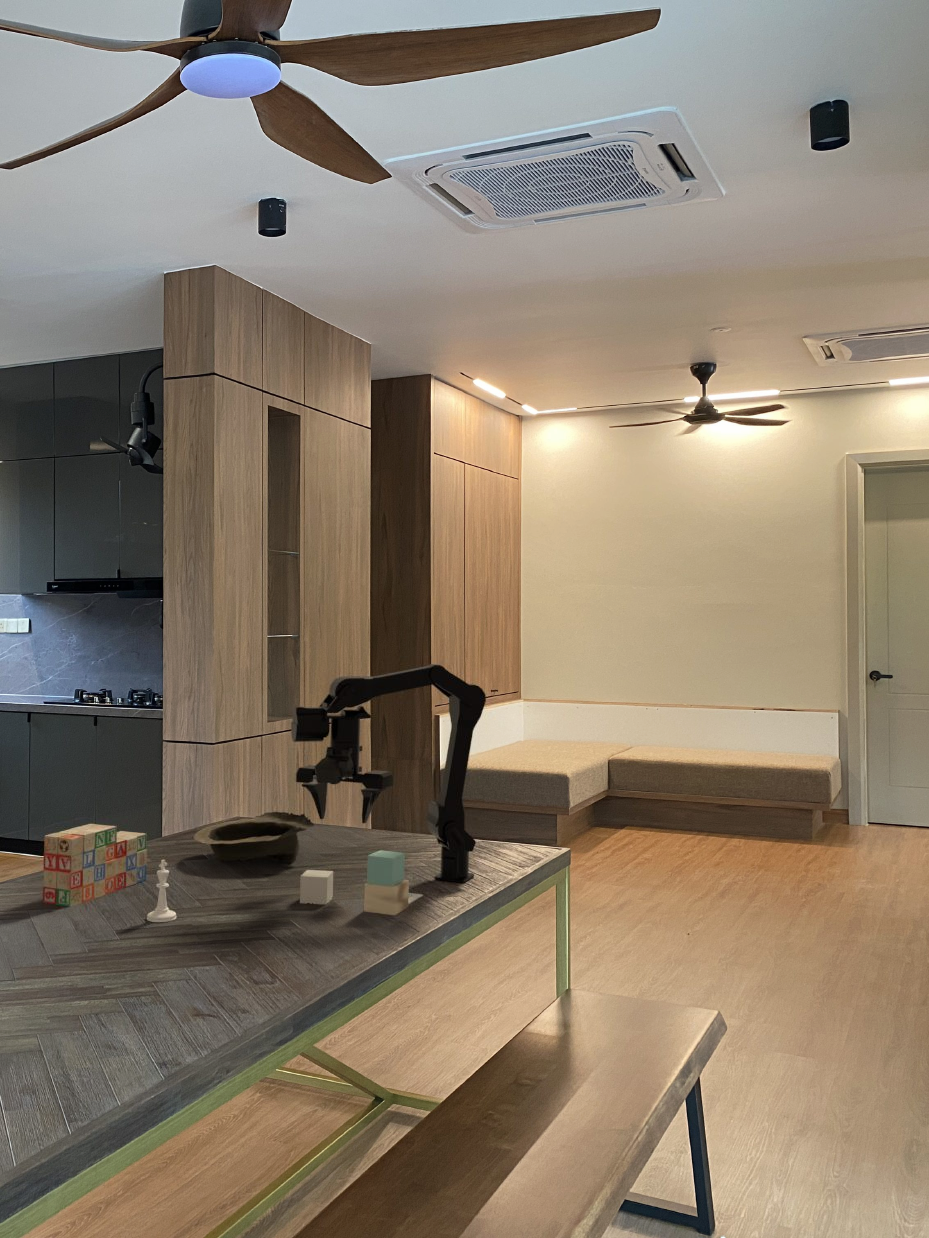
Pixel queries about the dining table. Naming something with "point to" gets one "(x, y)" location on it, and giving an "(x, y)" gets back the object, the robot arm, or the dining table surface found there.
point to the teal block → (385, 868)
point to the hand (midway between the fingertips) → (343, 820)
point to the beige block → (316, 887)
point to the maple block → (386, 898)
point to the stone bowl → (256, 837)
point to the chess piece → (162, 899)
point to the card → (413, 897)
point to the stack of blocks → (91, 863)
